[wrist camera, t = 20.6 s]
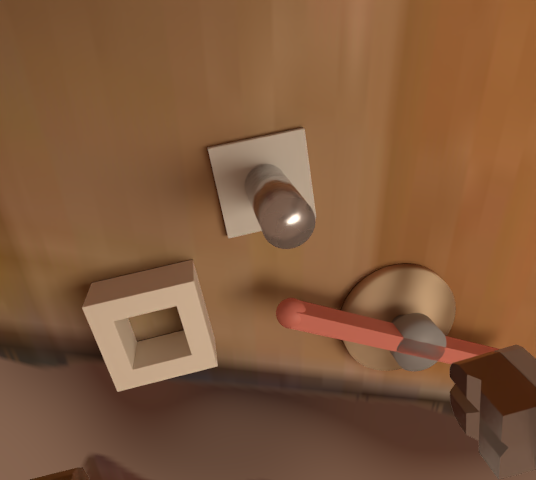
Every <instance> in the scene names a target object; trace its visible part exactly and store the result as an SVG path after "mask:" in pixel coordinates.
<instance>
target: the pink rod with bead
mask: <svg viewBox="0 0 536 480" xmlns="http://www.w3.org/2000/svg"><path fill="white" fill-rule="evenodd" d="M276 316H277V319H278V321H279V323H280V324H281V325H282V326H284V327H286V328H290V329H295V330H300V331H304V332H309V333H313V334H318V335H322V336H327V337H331V338H336V339H340V340H345V341H349V342H354V343H358V344H363V345H367V346H372V347H377V348H381V349H386V350H389V351H390V353H391V354H392V356H393V357H394V359H395V360H396V361H397V363H398V364H399V366H400V367H402V368H403V369H405V370H408V371H421V370H424V369H427V368H429V367H431V366H432V365H434V364H435V363H436V362H437V361H440V362H444V363H449V364H452V363H454V362H457V361H461V360H464V359H467V358H471V357H474V356H478V355H481V354H485V353H488V352H492V351H493V352H494V351H496V350H499V349H497V348H493V347H489V346H485V345H481V344H477V343H472V342H468V341H464V340H460V339H456V338H452V337H448V336H445V335H444V334H443V332H442V331H441V330H440V329H439V328H438V327H437V326H436V325H435V324H434V322H433V321H432V320H431V319H430V318H429V317H428V316H426V315H424V314H421V313H410V314H407V315H404V316H402V317H400V318H399V319H397V320H396V321H395V322H394V323H390V322H386V321H382V320H378V319H374V318H370V317H366V316H361V315H357V314H353V313H349V312H345V311H341V310H337V309H333V308H329V307H325V306H320V305H316V304H312V303H308V302H304V301H300V300H298V299H295V298H287V299H285V300H283V301H282V302H280V304H279V305H278V307H277V310H276Z"/></svg>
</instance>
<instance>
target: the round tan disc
mask: <svg viewBox="0 0 536 480" xmlns="http://www.w3.org/2000/svg"><path fill="white" fill-rule="evenodd" d="M455 310H456V307H455V299H454V296H453V293H452V291H451V289H450V288H449V286H448V285H447V284H446V283H445V282H444V281H443V280H442V279H441V278H440V277H439V276H438V275H437V274H435V273H434V272H433V271H432V270H430V269H428V268H426V267H423V266H421V265H416V264H408V263H405V264H395V265H390V266H387V267H384V268H381V269H379V270H377V271H375V272H373V273H371V274H370V275H368V276H367V277H365V278H364V279H363V280H362V281H360V282H359V283H358V284H357V285H356V286H355V287H354V288H353V290H352V291H351V292H350V293H349V295H348V296H347V298H346V300H345V302H344V304H343V306H342V309H341V311H345V312H349V313H353V314H357V315H361V316H366V317H370V318H374V319H378V320H382V321H386V322H390V323H394V322H395V321H396V320H397V319H399V318H400V317H402V316H404V315H407V314H410V313H421V314H424V315H426V316H428V317H429V318H430V319H431V320H432V321H433V322H434V324H435V325H436V326H437V327H438V328H439V329H440V330H441V331H442V332H443V334H444V335H445V336H447V335H448V333H449V331H450V329H451V327H452V325H453V322H454V318H455ZM342 341H343V342H344V344H345V346H346V348H347V350H348V351H349V353H350V355H351V356H352V357H353V358H354V359H355V360H356V361H357V362H358V363H360V364H362V365H363V366H366V367H368V368H371V369H375V370H385V371H389V370H397V369H402V367H400V366H399V364H398V363H397V361H396V360H395V359H394V357H393V356H392V354H391V353H390V351H389V350H386V349H381V348H377V347H372V346H367V345H363V344H358V343H354V342H349V341H345V340H342Z"/></svg>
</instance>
